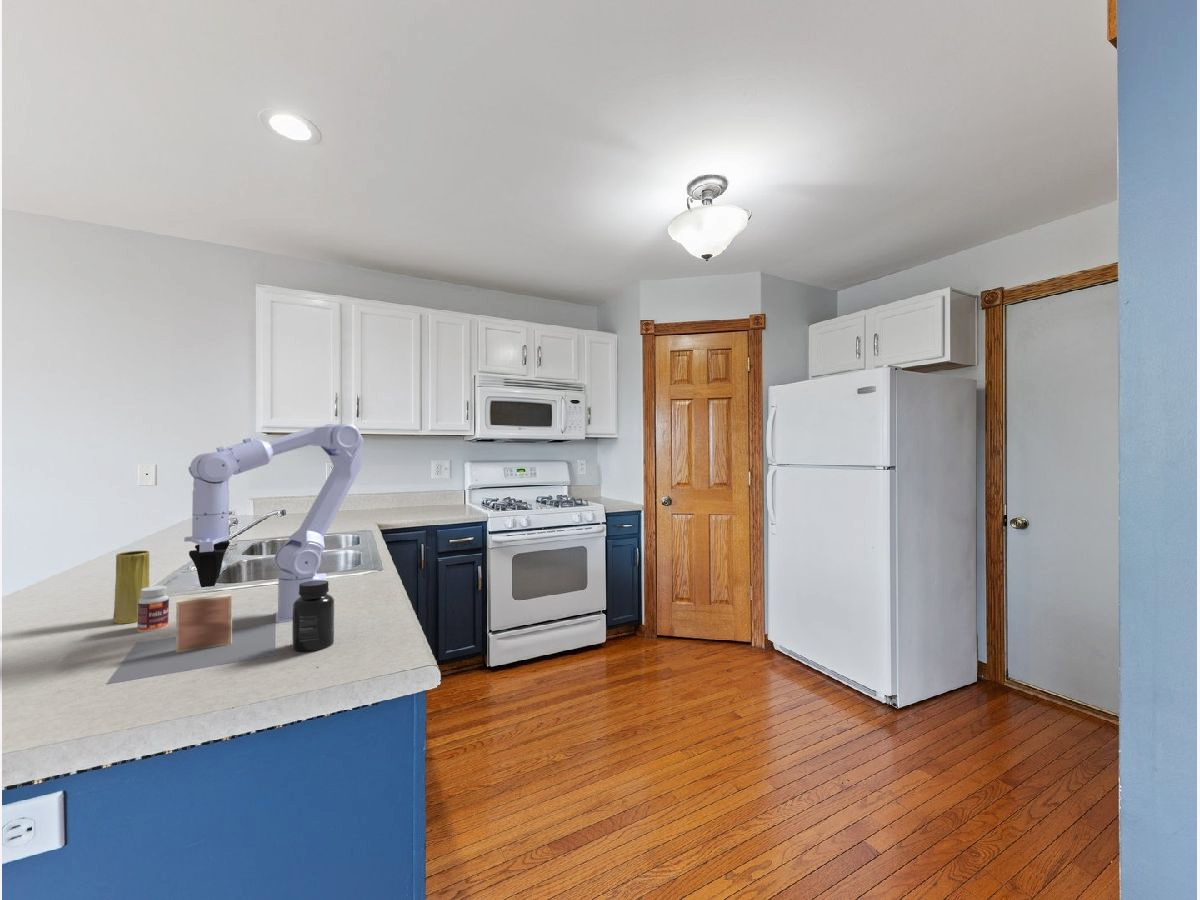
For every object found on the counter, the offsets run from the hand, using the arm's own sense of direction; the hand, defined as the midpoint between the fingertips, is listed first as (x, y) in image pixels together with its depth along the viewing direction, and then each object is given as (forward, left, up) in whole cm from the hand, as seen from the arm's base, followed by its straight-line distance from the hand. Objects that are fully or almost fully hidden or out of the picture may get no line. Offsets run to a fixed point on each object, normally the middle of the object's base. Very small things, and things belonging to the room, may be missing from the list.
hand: (210, 582), depth 101 cm
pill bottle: (+10, -10, -11) cm, 18 cm away
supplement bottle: (-17, +17, -11) cm, 26 cm away
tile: (0, +8, -10) cm, 13 cm away
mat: (0, +9, -10) cm, 14 cm away
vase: (+15, -20, -11) cm, 27 cm away
